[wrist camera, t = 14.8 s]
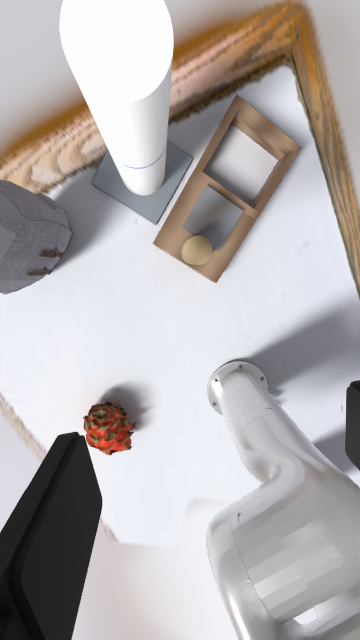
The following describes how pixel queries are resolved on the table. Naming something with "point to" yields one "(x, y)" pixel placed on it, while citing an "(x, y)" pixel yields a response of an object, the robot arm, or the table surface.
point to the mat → (147, 204)
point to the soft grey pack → (29, 236)
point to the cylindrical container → (124, 79)
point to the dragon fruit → (108, 428)
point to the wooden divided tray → (222, 199)
